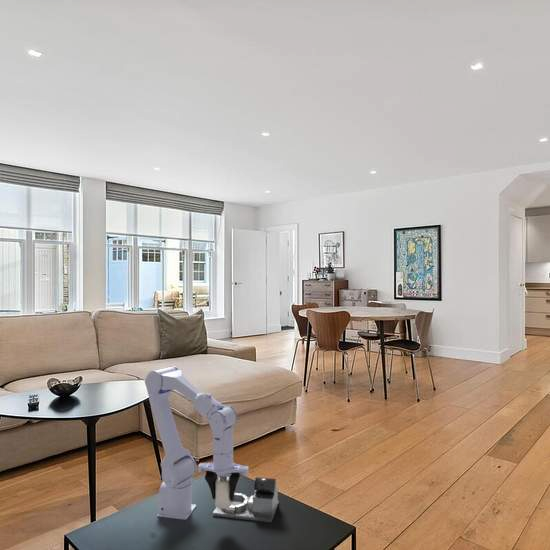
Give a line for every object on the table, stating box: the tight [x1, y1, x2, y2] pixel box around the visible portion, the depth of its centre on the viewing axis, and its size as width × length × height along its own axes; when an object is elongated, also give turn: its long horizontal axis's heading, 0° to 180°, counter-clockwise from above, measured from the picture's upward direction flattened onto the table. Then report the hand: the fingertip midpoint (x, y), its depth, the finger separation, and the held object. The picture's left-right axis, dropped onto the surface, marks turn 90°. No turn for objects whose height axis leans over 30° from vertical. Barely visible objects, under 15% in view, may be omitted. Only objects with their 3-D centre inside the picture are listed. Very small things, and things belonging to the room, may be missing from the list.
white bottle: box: [214, 474, 231, 509], centre depth 122 cm, size 4×4×8 cm
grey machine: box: [212, 476, 280, 523], centre depth 132 cm, size 18×11×10 cm, turn 79°
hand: (223, 498), depth 122 cm, fingers closed on white bottle, 4 cm apart
